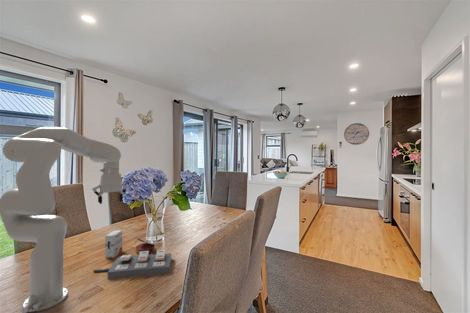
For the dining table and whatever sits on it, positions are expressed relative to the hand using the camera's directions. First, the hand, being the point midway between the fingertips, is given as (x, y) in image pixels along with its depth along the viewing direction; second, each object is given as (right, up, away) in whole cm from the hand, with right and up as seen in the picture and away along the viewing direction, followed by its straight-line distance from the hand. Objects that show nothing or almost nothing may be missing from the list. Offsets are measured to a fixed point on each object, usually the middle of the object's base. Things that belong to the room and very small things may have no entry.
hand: (110, 202), depth 119 cm
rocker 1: (+16, -24, -15) cm, 32 cm away
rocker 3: (+31, -24, -11) cm, 41 cm away
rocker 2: (+24, -24, -13) cm, 36 cm away
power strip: (+20, -29, -16) cm, 38 cm away
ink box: (+2, -28, -1) cm, 28 cm away
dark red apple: (+18, -29, +3) cm, 34 cm away
